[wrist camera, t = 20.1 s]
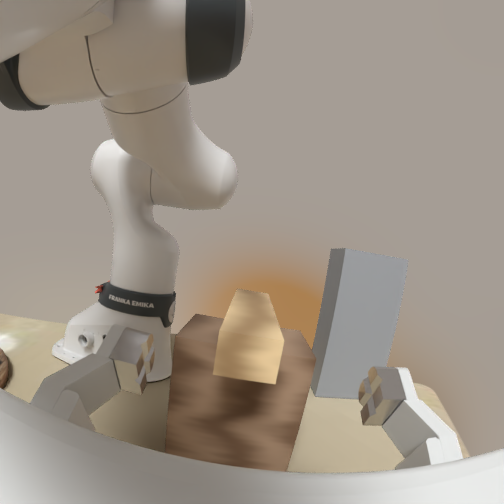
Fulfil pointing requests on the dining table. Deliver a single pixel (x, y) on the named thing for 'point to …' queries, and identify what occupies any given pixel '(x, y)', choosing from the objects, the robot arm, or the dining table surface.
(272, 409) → the walnut block
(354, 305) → the tall stand
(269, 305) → the oak bar
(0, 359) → the trivet
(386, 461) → the dining table surface
